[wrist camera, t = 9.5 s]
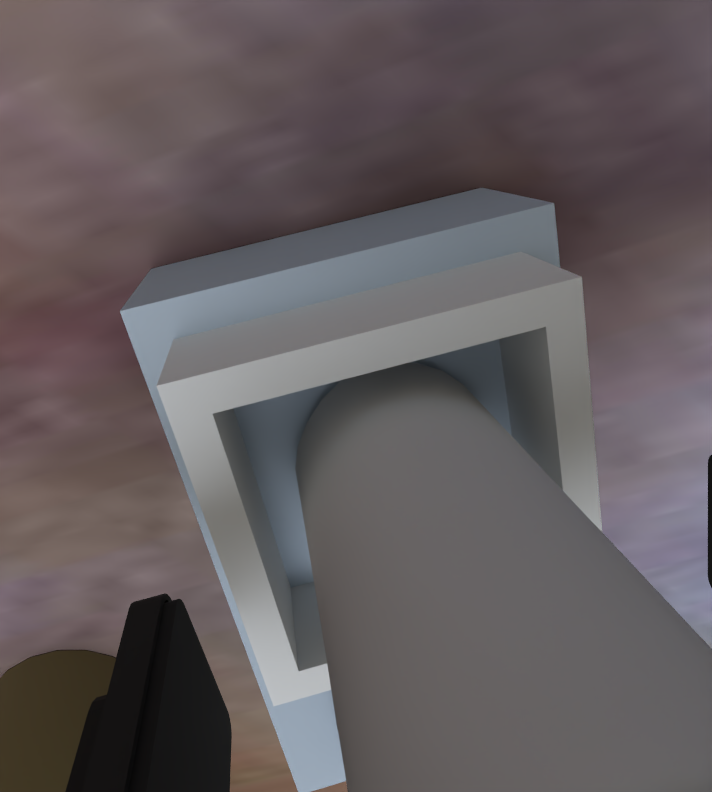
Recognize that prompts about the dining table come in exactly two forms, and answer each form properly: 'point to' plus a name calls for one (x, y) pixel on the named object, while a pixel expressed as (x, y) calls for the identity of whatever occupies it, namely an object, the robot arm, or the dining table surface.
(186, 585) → the dining table surface
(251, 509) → the recessed tray block
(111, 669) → the olive pepper mill
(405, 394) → the beverage can
